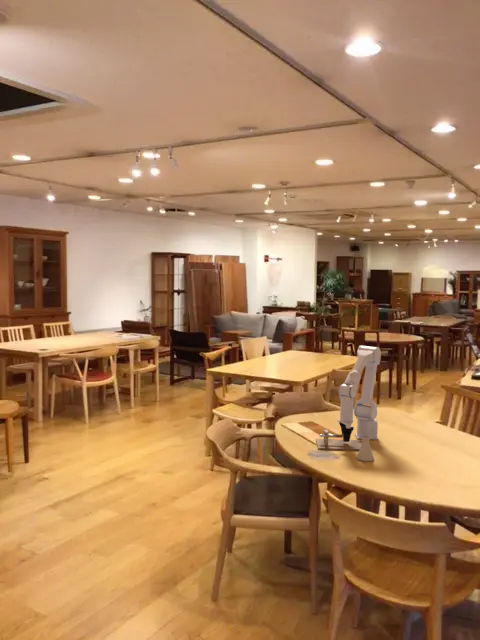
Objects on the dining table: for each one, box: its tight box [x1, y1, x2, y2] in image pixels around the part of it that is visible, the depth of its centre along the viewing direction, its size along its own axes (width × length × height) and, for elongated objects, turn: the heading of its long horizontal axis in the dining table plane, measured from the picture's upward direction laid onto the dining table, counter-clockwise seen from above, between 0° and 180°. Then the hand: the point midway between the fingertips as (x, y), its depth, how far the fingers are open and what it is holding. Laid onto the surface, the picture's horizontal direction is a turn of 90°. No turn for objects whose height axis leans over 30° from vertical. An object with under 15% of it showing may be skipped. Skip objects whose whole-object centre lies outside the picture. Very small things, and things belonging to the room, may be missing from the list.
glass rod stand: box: [318, 433, 344, 442], centre depth 265 cm, size 13×5×5 cm, turn 87°
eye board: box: [315, 429, 363, 452], centre depth 265 cm, size 22×14×7 cm, turn 87°
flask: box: [355, 435, 375, 463], centre depth 247 cm, size 7×7×10 cm
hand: (345, 439), depth 265 cm, fingers open, 5 cm apart
